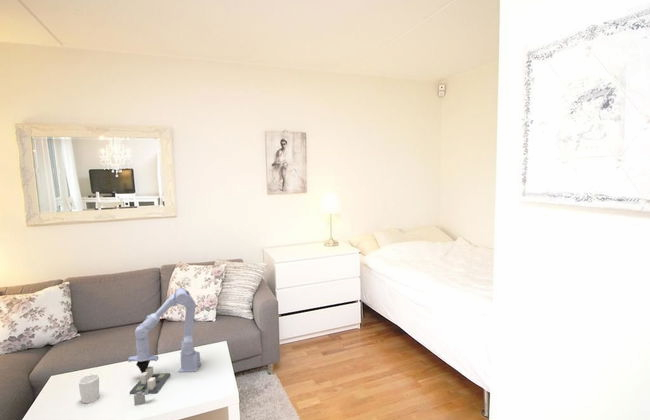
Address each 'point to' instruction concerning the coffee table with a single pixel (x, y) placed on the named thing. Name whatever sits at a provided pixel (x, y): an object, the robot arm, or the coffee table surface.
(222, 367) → the coffee table surface
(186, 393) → the coffee table surface
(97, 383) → the white cup
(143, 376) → the switch
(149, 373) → the switch
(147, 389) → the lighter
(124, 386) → the coffee table surface
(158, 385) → the switch unit
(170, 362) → the coffee table surface
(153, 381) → the switch
